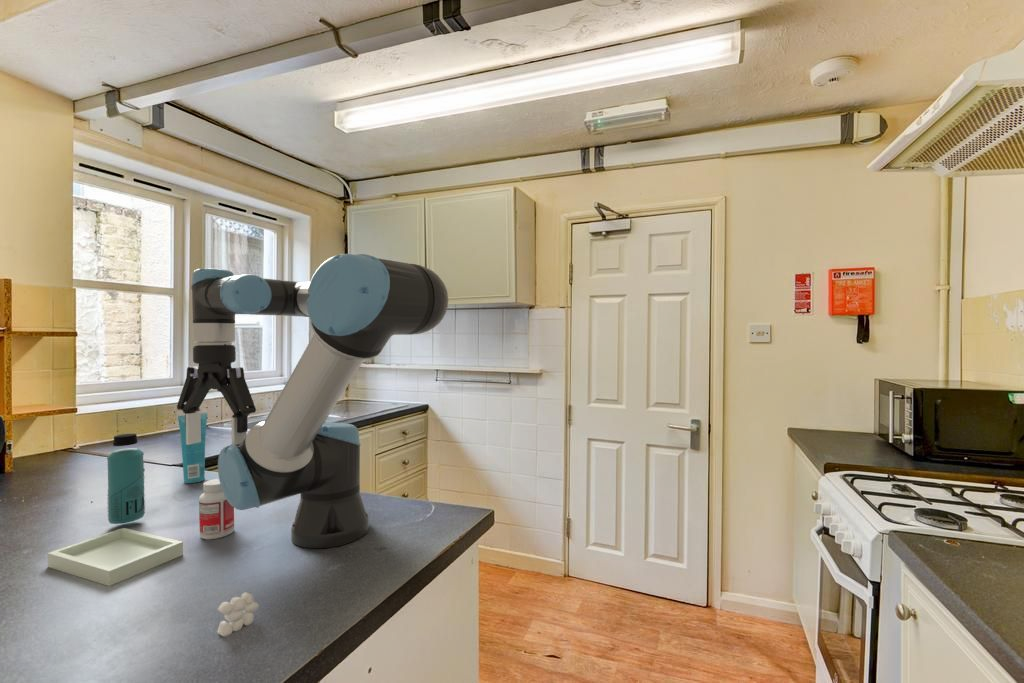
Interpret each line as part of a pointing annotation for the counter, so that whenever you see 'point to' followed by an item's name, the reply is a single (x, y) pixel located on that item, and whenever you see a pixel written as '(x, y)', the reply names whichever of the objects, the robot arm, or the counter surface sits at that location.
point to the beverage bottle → (125, 481)
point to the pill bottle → (215, 512)
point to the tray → (115, 555)
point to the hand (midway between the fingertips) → (215, 445)
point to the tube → (193, 453)
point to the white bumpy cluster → (237, 613)
